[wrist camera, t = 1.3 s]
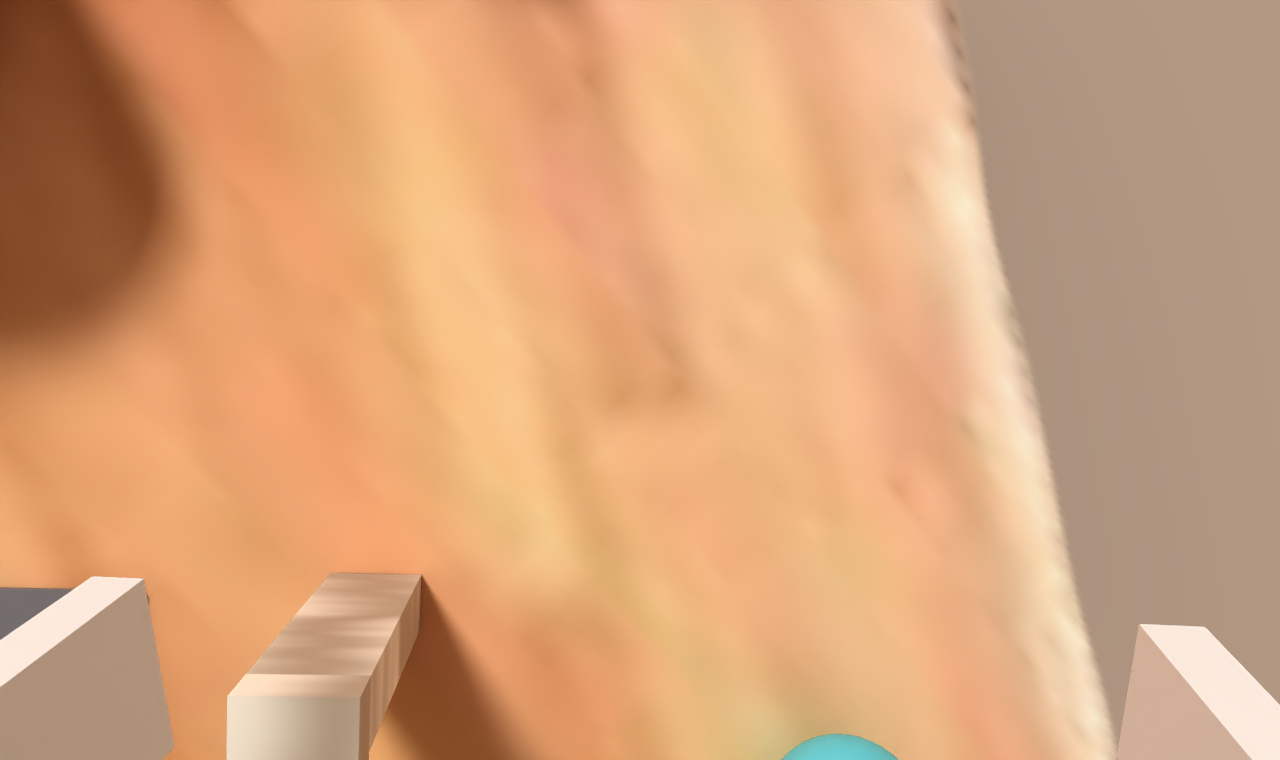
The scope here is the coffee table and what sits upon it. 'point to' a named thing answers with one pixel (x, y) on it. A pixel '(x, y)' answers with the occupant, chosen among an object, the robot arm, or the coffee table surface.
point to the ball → (839, 749)
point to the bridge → (328, 672)
